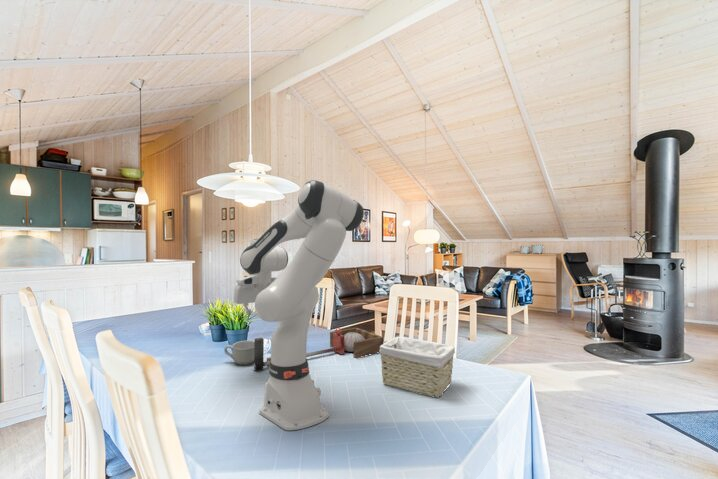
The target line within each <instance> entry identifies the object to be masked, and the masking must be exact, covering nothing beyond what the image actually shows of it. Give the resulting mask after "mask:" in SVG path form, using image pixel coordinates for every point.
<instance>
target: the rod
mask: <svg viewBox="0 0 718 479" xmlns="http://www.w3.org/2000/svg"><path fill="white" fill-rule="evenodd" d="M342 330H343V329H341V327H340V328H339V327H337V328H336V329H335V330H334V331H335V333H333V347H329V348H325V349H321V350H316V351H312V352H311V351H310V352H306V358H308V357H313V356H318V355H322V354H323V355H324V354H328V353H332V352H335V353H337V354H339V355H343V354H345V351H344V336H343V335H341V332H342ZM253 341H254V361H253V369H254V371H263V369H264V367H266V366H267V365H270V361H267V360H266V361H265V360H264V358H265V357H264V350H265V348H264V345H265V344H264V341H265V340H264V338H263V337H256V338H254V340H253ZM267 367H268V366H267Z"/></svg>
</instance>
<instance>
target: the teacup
mask: <svg viewBox="0 0 718 479" xmlns="http://www.w3.org/2000/svg"><path fill="white" fill-rule="evenodd" d="M228 348H230V350H231V353H230V352H229V351H228ZM223 350H224V351H223V352H224V354H226V355H227V356H228V357H230V358H231V359H232V360H233V362H234V363H235V364H237V365H239V366H240V365H241V366H247V365H250V364H252V363H254V340H249V339H248V340H240V341H236V342H235V343H233V344H227V345H226V346H225V347H224V349H223Z"/></svg>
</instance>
